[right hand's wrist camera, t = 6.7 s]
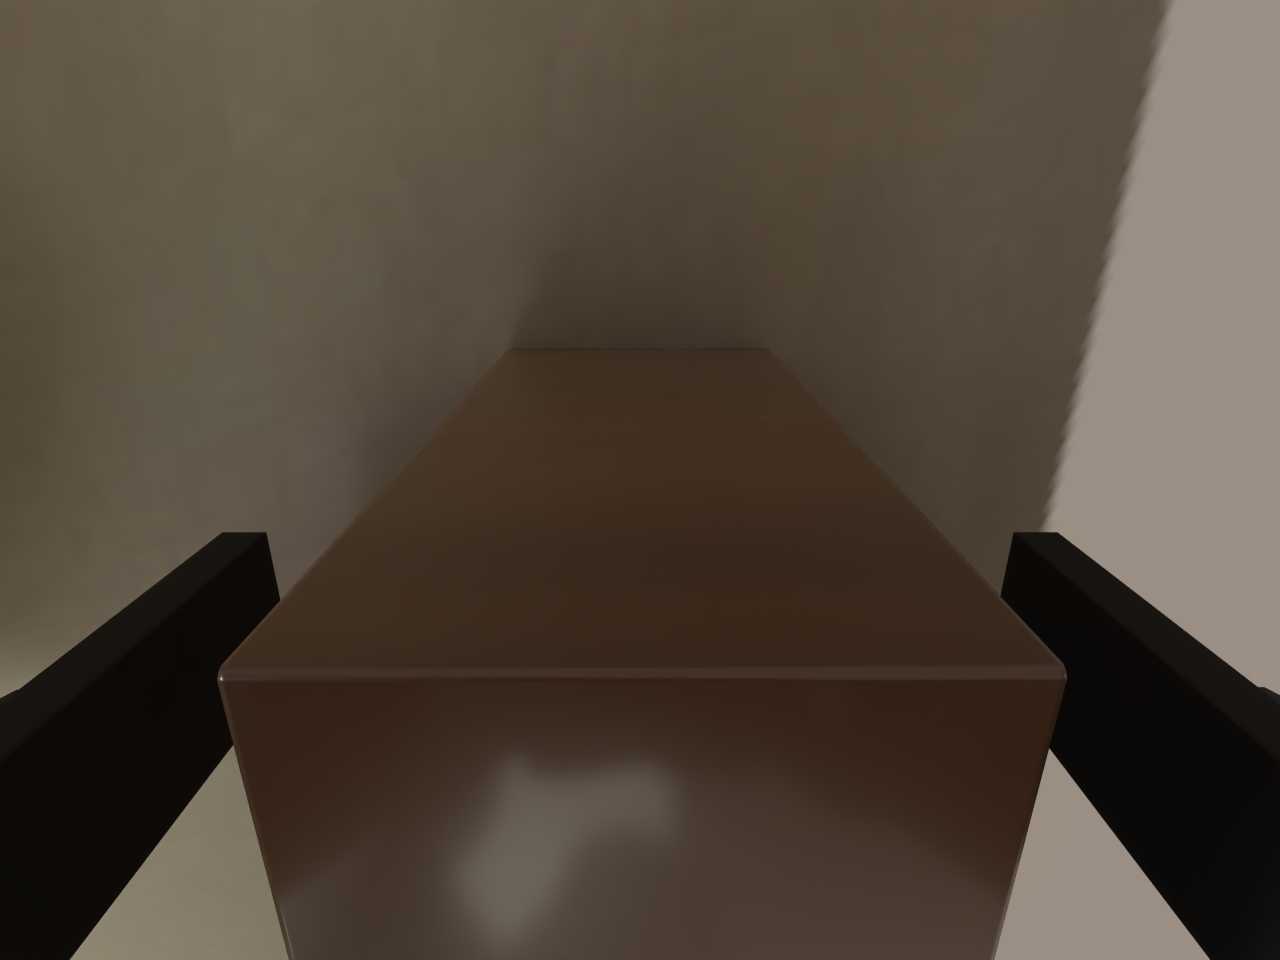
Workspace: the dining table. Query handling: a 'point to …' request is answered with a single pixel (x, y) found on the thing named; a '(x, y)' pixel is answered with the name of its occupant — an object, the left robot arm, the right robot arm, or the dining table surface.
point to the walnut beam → (641, 690)
